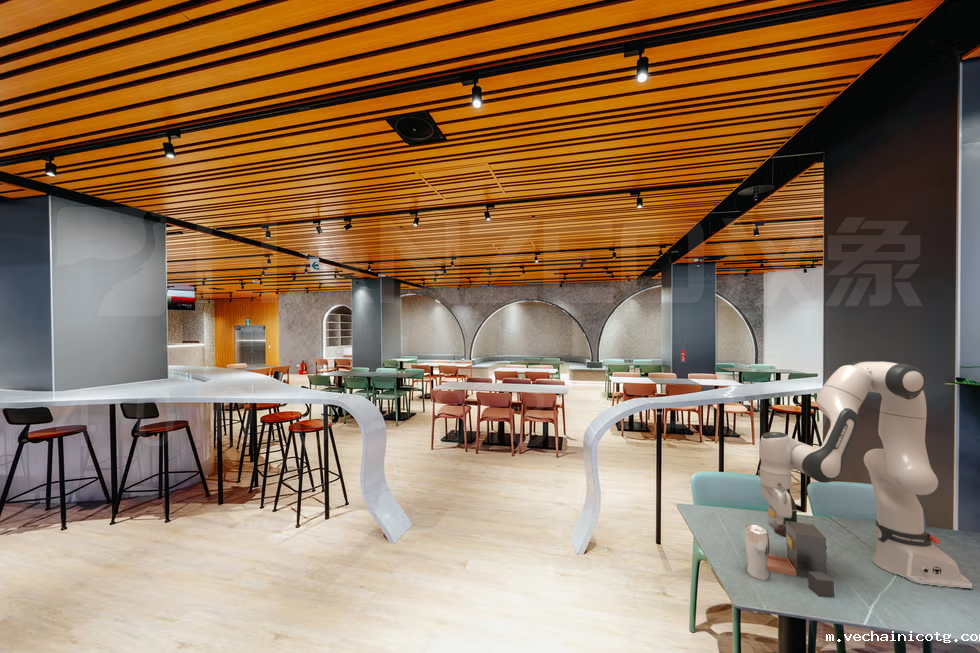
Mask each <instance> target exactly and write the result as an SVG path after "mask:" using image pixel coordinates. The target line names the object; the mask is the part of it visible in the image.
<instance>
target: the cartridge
mask: <svg viewBox="0 0 980 653" xmlns="http://www.w3.org/2000/svg"><path fill="white" fill-rule="evenodd" d="M767 515H768V517H767V521H768V526H769V527H770V528H772V529H774V528H775V529H779V530H783V529H784V519H783V524H782V525H780V524H777V523H776V521H775V520H776V519H775V517H776V512H775V510H774V509H773V508H772V506H769V505H768V507H767ZM775 529H774V530H775Z"/></svg>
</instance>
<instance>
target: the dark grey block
mask: <svg viewBox="0 0 980 653" xmlns="http://www.w3.org/2000/svg"><path fill="white" fill-rule="evenodd" d="M785 542H786V558H788V559H789V560H790V562H791V563H792V565H793V567H794V568H795V570H796V577H797V578H803V579H808V571H810V572H823V573H824V574H826V575H827V576H828V565H827V563H828V561H827V558H828V557H827V556H828V555H827V550H828V546H827V537H825V536H824V535H823V533H822V532H821V531H820V530H819V529H818V528H817V527H816V526H815V525H814V524H812V523H811V524H810V523H804V522H798V521H797V522H792V521H786V537H785Z"/></svg>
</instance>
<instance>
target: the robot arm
mask: <svg viewBox="0 0 980 653" xmlns="http://www.w3.org/2000/svg"><path fill="white" fill-rule="evenodd" d="M925 384H926V378H925V375H924V374H923V372H922V371H921V370H920V369H919V368H918V367H916V366H913V365H910V364H906V363H896V362H891V361H890V362H889V361H883V360H882V361H867V360H859V361H854V362H851V363H849V364H846V365H842V366H840V367H838V368H837V370H835V371H834V372H833V373H832V374H831V375H830V377H829V378H828V379H827V380H826V381H825V383H824V384H823V386H822V388H820V390H819V392H818V394H817V397H816V399H815V400H816V405H817V407H818V409H819V411H820V412H821V413H822V414H823V415H824V416H826V417H827V418H828V419H829V421H830V422H829V423H830V427H829V429H828V431H827V434H826V436H825V438H824V440H823V442H822V444H821V446H819V447H814V446H812V445H809V444H807V443H804V442H801V441H799V440H796V439H794V438H792V437H790V436H789V435H787V434H786V433H784V432H780V431H769V432H765V433H763V434H762V435H761V438H760V442H759V459H760V465H759V470H758V471H757V472H758V477H759V481H760V487H761V494H762V496H763V497H764V499H765V500H766V501H767V502H768V507H769V506H772V508H773V509H774V510H775V512H776V517H775V519H776V520H775V521H776V523H777V524H780V525H782V524H783V519H784V517H785V518H791V517H792V506H791V498H790V495H789V493H788V492H787V489H792V487H793V486H792V471H793V470H795V471H798V472H800V473H802V474H805V475H806V476H807V477H810V478H811V479H813V480H814V481H816V482H818V483H822V484H823V483H831V482H834V481H836V480H837V479H838V478H839V477H840V476H841V475H842V472H843V467H844V461H845V457H846V455H847V453H848V450H849V448H850V446H851V443H852V442H853V439H854V437H855V434H856V432H857V429H858V426H859V423H860V418H859V415H858V413H859V410H860V407H861V405H862V404H863V402H864V401H865V399H866V397H867V395H868V393H876V394H880V396H881V401H880V406H879V418H878V419H879V420H878V427H877V428H878V430H877V432H878V436H879V437H880V440H881V442H882V447H883V448H873V449H870V450H868V451H866V452H865V453H864V456H863V463H864V465H865V467H866V469H867V471H868V474H869V478H870V481H871V485H872V489H873V492H874V496H875V502H876V503H875V504H876V517H877V518H876V520H875V537H876V545H875V551H874V554H873V557H872V559H871V560H872V562H873V563H874V564H875V565H876V566H877V567H879V568H881V569H883V570H885V571H887V572H888V573H890V574H893V573H894V574H893V575H896V574H899V575H903V576H905V577H907V578H909V579H911V580H913V581H915V582H919V583H928V584H933V585H941V586H951V587H952V586H953V587H972V586H973V583H972V582H971V581H970V580H969V579H968V578H967V577H966V578H965V575H963V574H962V573H961V570H960V568H959V566H958V564H957V562H955V560H954V559H953V558H952V557H950V556H949V555H948V554H946V553H945V552H944V551H943V550H941V549H940V548H939V547H937V546H936V545H939V544H941V542H942V541H941V539H939V538H938V537H936V536H935V535H931V534H930V533H929V532H927V531H925V527H924V509H923V506H922V505H921V502H920V501H919V500H918V497H917V495H918V496H926V495H927V496H928V495H931V494H932V493H934V492H935V491H936V490H937V488H938V486H939V480H938V477H937V475H936V474H935V472H934V471H933V469H932V465H931V464H930V463H931V462H930V460H929V456H928V452H927V446H926V428H927V427H926V426H927V416H928V415H927V414H928V413H927V401H926V395H925V391H924V388H925ZM934 544H935V545H934ZM961 574H962V575H961ZM922 580H923V581H922ZM966 581H968V583H966ZM915 582H914V583H915ZM941 586H940V587H941ZM951 587H950V588H951Z"/></svg>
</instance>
